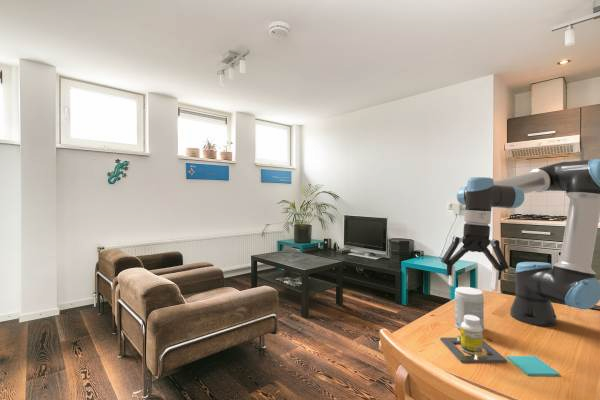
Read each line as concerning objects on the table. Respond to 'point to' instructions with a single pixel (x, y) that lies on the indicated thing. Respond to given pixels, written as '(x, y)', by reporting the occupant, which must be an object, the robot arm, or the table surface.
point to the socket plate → (478, 356)
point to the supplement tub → (468, 304)
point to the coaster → (532, 366)
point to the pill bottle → (471, 334)
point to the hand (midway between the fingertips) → (472, 287)
